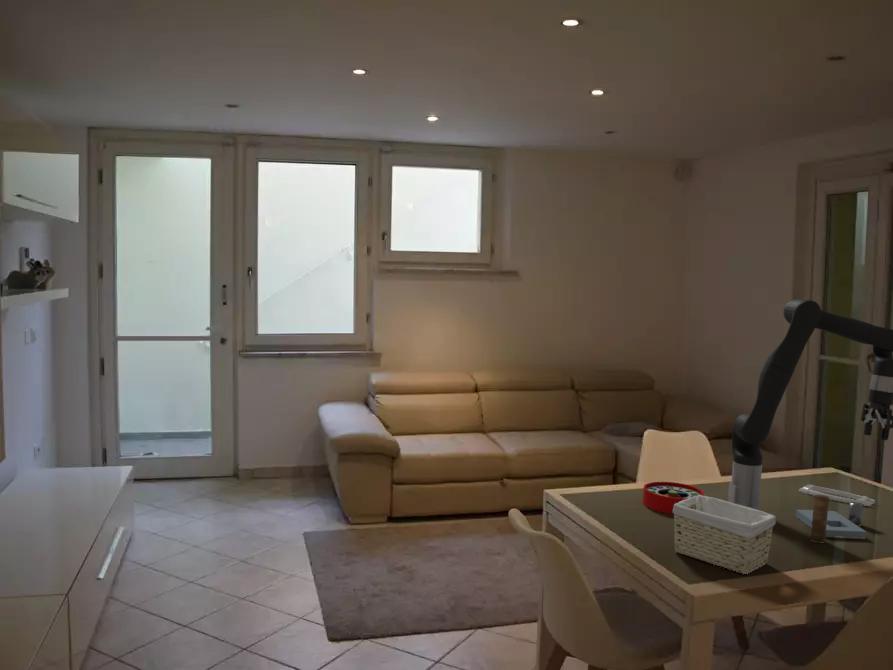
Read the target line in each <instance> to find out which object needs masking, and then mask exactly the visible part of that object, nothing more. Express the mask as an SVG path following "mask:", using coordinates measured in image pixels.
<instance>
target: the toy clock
mask: <svg viewBox="0 0 893 670" xmlns="http://www.w3.org/2000/svg"><path fill="white" fill-rule="evenodd" d="M642 491H643V492H642V505H643V504H644V505H645V506H644V507H646V506H647V507H649V508H651V509H650V510H652V509H653V510H652V511H654V510H657V511H660V512H659V513H661V512H664V513H663V514H666V513H669V514H668V515H673V507H674V504H676V503H678V502H680V501H682V500H685V499H688V498H691V497H694V496H698V495H702V496H705V492H704V491H703V490H702V489H701V488H698V487H697V486H693V485H690V484H686V483H680V482H674V481H650V482H647V483H645V484H644V485H643V489H642ZM647 507H646V508H647ZM649 508H648V509H649ZM691 509H693V507H691ZM657 511H656V512H657Z"/></svg>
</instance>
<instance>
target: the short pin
mask: <svg viewBox="0 0 893 670" xmlns="http://www.w3.org/2000/svg"><path fill="white" fill-rule="evenodd" d="M848 505H849V506H848V517H847V519H848V520H849V521H851V522H852V523H854V524H855V525H860V524H863V512H864V506H863V504H862V503H858V502H850V504H848Z"/></svg>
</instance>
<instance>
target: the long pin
mask: <svg viewBox="0 0 893 670" xmlns="http://www.w3.org/2000/svg"><path fill="white" fill-rule="evenodd" d="M829 501H830V500H829V497H827V496H824V495H815V496H813V508H812V510H813V518H812V529H811V532H810V541H811V540H813V541H817V542H825V543H826V538H825V537H826V526H827V515H828V511H829V504H830V503H829Z"/></svg>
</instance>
